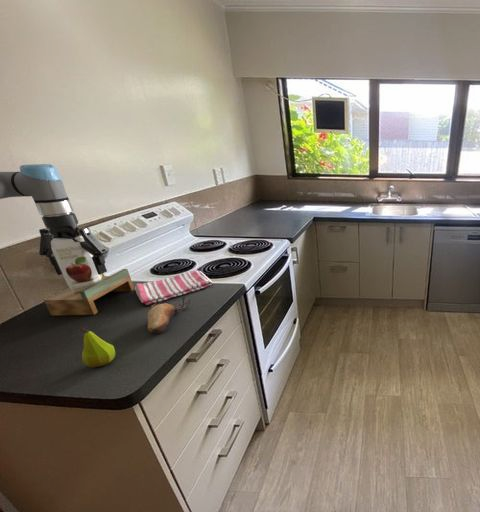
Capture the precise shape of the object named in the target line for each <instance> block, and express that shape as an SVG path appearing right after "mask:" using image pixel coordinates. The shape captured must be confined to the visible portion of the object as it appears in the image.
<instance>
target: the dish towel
mask: <svg viewBox="0 0 480 512" xmlns="http://www.w3.org/2000/svg"><path fill="white" fill-rule="evenodd" d="M213 284H214V283H213V281H212V280H211V279H210V278H209V277H208V276H206V274H204V273H203V272H202V271H201V270H191V271H187V272H183V273H180V274H177V275H174V276H170V277H167V278H162V279H159V280H152V281H147V282H143V283H135V285H133V286H134V289H135V290H134V291H135V293H136V295H137V297H138V299H139V301H140V302H141V303H142V304H144V305H145V306H150V305H153V304H155V303H156V302H157V298H158V297H159V299H158V302H157V303H160V302H161V301H162V302H163V301H167V300H170V299H171V298H176V297H180V296H183V295H187V294H189V293H192V292H196V291H200V290H202V289H205V288H207V287H211V286H212V285H213ZM159 293H160V295H159V296H157V295H158V294H159ZM157 303H156V304H157Z"/></svg>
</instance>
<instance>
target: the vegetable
mask: <svg viewBox="0 0 480 512" xmlns="http://www.w3.org/2000/svg"><path fill="white" fill-rule="evenodd" d="M159 295H160V293H159V294H158V295H157V296H159ZM158 299H159V297H158V298H157V302H156V303H153V304H151V306H150V309H149V310H148V312H147V315H146V317H147V318H146V319H147V330H148V331H149V332H150V333H151V334H154V335H160V334H162V333H164V332H165V331H166V329H167V328H168V325H169V322H170V320H171V319H172V318H173V317H174V316H175V315H176V314H177V312H178V311H186V309H187V308H188V307H189V305H190V303H191V299H188V303H187V302H185V299H186V296H183V297H182V298H181V300H182V305H181V304H179V305H178V306H179V307H177V306H174V305H173V304H171V303H168V302H167V301H166V302H164V303H162V302H163V301H160V302H158ZM157 303H158V304H157ZM184 305H185V308H184Z"/></svg>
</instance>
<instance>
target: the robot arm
mask: <svg viewBox="0 0 480 512" xmlns="http://www.w3.org/2000/svg"><path fill="white" fill-rule="evenodd" d="M19 197H20V198H21V197H32V200H33V202H34V204H35V207H36V209H37V211H38V213H39V216H41V220H42V222H43V224H44V226H45V228H40V229H39V230H38V231H39V235H40V241H39V251H38V252H39V253H38V254H39V256H42V257H43V256H45V257H46V258H47V259H48V260H49V262H50V264H51V265H52V266H53V268H54V270H55V272H56V275H57V276H62V275H63V274H62V271H61V269H60V267H59V265H58V263H57V260H56V258H55V256H54V254H53V251H52V248H51V241H52V240H53V238H68V239H72V240H73V241H74V242H79V241H78V240H76V239H74V238H76V237H78V236H82V237H83V238H84V242H79V243H80V245H81V247H82V248H84V249H85V250H86V251H88V252H89V253H90V254H92V255H93V257H92V260H93V262H94V265H95V267H96V270H97V272H98V275H101V274H102V275H103V274H104V273H106V272H108V270H107V269H108V268H107V267H106V261H105V258H104V255H105V254H107V253H108V252H109V250H108V249H107V248H106V247H105V246H104V245H103V244H102V243H101V241H99V240H98V238H97V237H96V236H95V235H94V234H93V233H92V231H91V229H90V228H89V227H87V226H86V227H83V228H80V227H78V224H79V220H78V218H77V216H76V213H74V209H73V206H72V203H71V201H70V198H69V196H68V193H67V191H66V188H65V186H64V182H63V178H62V177H61V176H60V173H59V171H58V169H57V167H56V166H55V165H53V164H50V163H49V164H47V163H45V164H44V163H41V164H36V163H35V164H23V165H22V164H21V165H20V166H19V171H0V200H2V199H3V200H4V199H7V198H19Z"/></svg>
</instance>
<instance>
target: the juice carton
mask: <svg viewBox="0 0 480 512" xmlns="http://www.w3.org/2000/svg"><path fill="white" fill-rule="evenodd" d="M52 238H53V237H52ZM74 239H76V240H78V241H79V242H84V238H83V237H82V236H78V237H76V238H74ZM79 242H74V241H73V240H72V239H68V238H53V240H52V241H51V248H52V251H53V254H54V256H55V258H56V260H57V263H58V265H59V267H60V269H61V271H62V274H61V275H62V277H63V278H64V280H65V282H66V284H67V286H68V288H70V289H71V290H72V291H73V292H74V293H75V292H80V291H81V290H83V289H85V288H87V287H89V286H91V285H93V284H95V283H97V282H99V281H101V280H102V276H103V274H101V275H98V272H97V270H96V267H95V265H94V262H93V260H92V257H93V255H92V254H90V253H89V252H88V251H86V250H85V249H84V248H82V247H81V245H80V243H79Z"/></svg>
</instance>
